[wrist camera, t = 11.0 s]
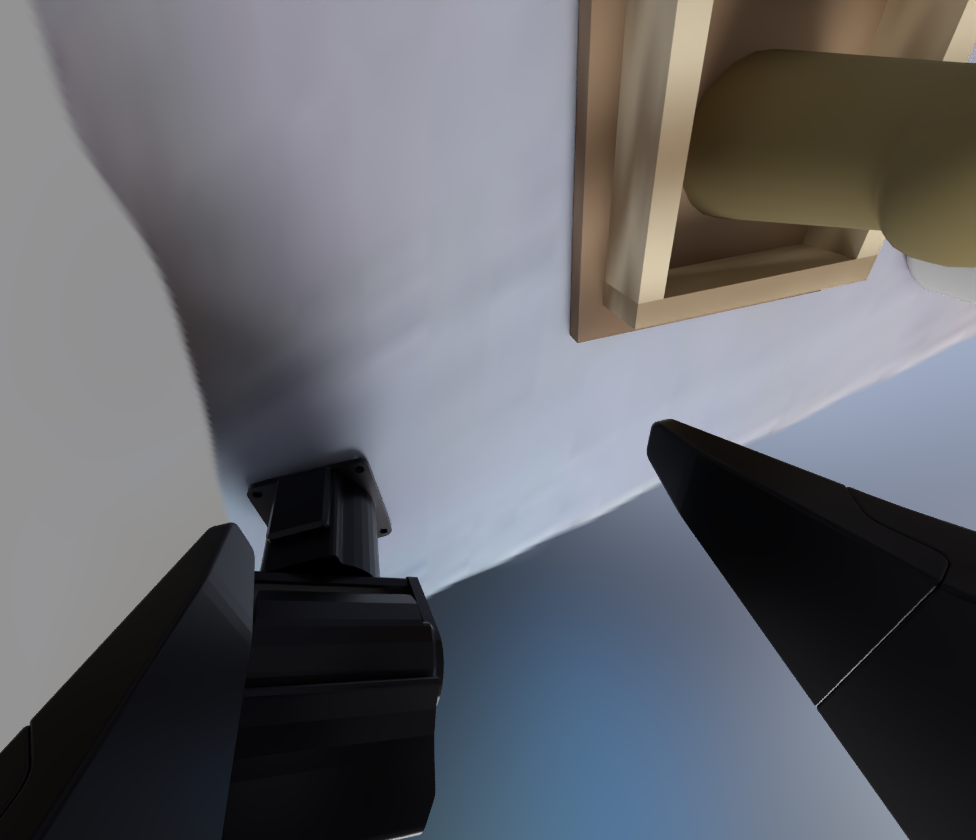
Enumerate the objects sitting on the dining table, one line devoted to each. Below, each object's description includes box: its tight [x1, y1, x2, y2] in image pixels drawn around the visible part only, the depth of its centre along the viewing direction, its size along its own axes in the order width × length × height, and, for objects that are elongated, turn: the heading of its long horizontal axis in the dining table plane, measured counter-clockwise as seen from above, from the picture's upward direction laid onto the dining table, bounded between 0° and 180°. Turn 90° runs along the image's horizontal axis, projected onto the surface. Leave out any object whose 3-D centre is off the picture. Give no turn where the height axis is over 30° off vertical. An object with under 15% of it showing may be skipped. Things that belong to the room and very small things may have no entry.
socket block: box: [570, 0, 976, 343], centre depth 17 cm, size 16×15×4 cm
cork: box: [683, 49, 976, 268], centre depth 14 cm, size 6×6×11 cm
